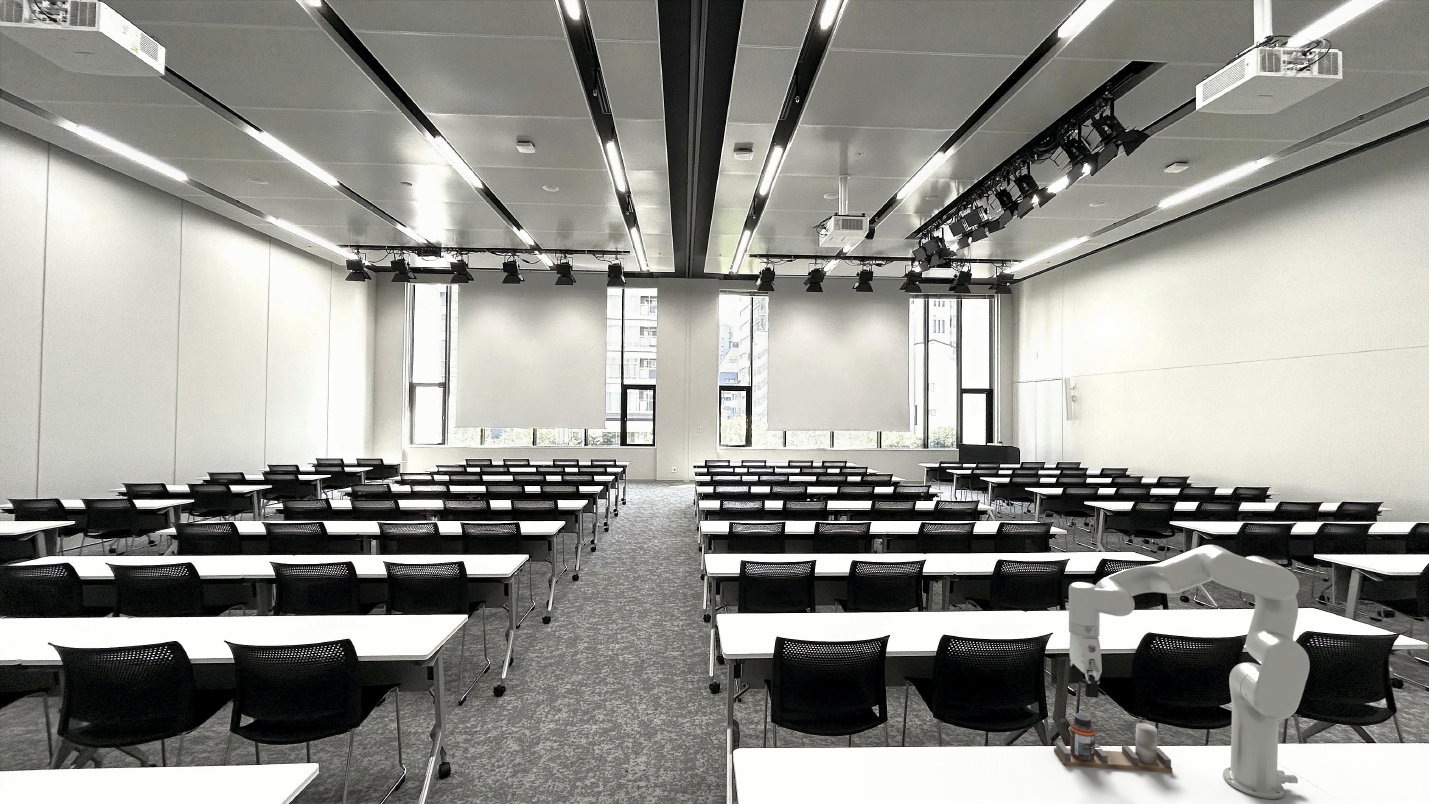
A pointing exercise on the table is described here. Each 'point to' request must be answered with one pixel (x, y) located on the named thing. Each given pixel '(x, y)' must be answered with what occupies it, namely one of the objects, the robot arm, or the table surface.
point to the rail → (1113, 763)
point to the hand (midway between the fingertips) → (1084, 688)
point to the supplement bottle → (1082, 737)
